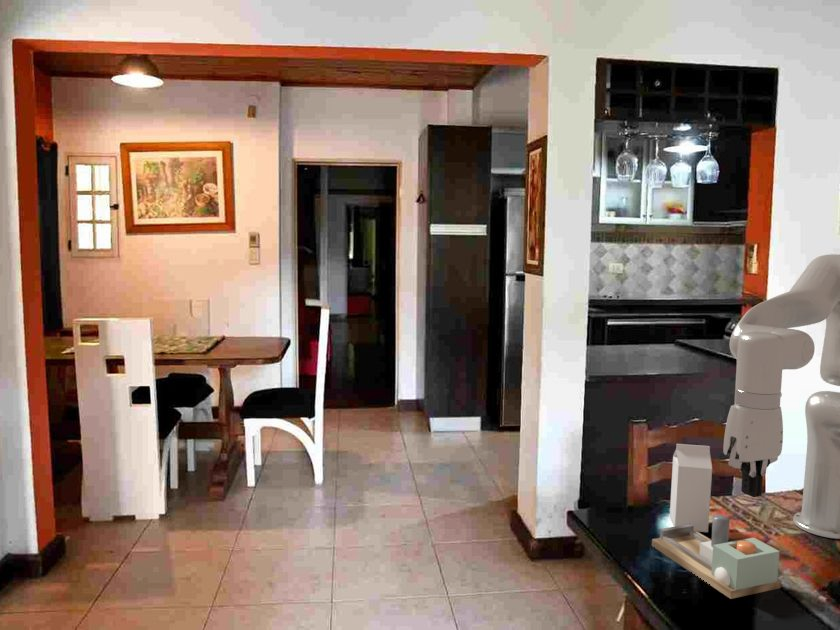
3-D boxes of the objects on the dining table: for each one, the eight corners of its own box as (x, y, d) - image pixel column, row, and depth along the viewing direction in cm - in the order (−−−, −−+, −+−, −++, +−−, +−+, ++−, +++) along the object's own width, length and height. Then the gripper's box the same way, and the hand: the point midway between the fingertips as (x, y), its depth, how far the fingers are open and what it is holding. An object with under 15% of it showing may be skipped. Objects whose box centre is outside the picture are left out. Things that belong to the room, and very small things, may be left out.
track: (696, 537, 146) (697, 522, 146) (780, 588, 126) (781, 570, 125) (651, 545, 142) (652, 530, 142) (730, 598, 122) (731, 581, 121)
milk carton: (708, 533, 149) (713, 451, 147) (674, 530, 150) (679, 448, 148) (701, 520, 156) (706, 441, 154) (669, 517, 157) (674, 439, 155)
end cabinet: (751, 573, 131) (753, 537, 130) (776, 588, 126) (779, 551, 125) (709, 582, 128) (711, 545, 127) (733, 598, 122) (736, 559, 121)
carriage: (718, 553, 136) (721, 511, 135) (737, 564, 131) (741, 521, 130) (699, 556, 134) (701, 514, 133) (717, 568, 129) (720, 524, 128)
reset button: (745, 554, 128) (746, 539, 128) (758, 562, 125) (759, 547, 125) (732, 556, 127) (733, 542, 127) (745, 564, 124) (746, 549, 124)
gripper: (771, 390, 128) (765, 481, 131) (709, 398, 123) (704, 492, 126) (805, 400, 121) (798, 496, 124) (741, 408, 116) (735, 508, 119)
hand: (751, 494), depth 125 cm, fingers closed
